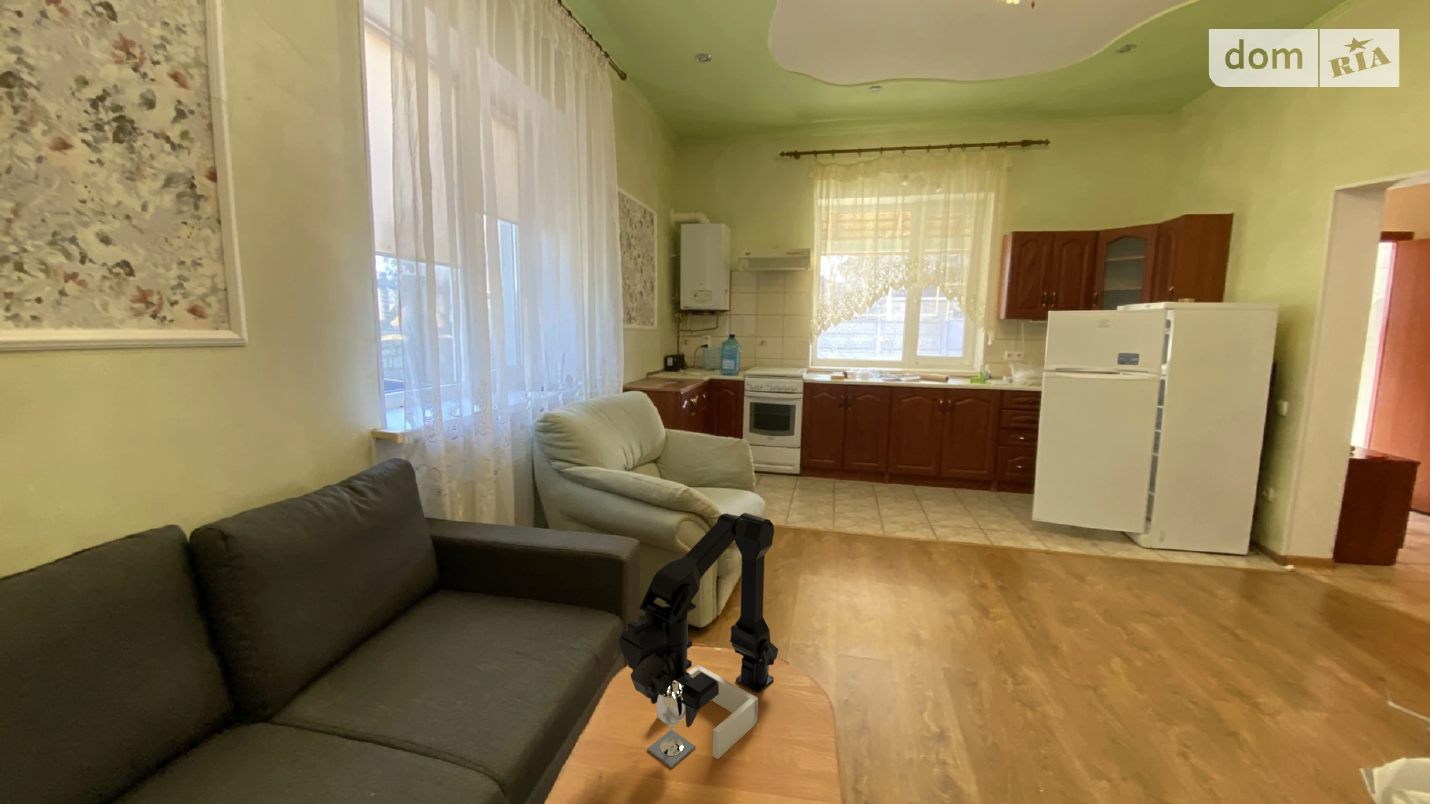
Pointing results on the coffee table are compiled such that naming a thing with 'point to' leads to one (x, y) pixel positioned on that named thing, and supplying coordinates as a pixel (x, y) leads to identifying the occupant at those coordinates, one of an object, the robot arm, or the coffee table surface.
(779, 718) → the coffee table surface
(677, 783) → the coffee table surface
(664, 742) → the wineglass
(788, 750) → the coffee table surface
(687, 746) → the felt mat
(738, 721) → the corner wall
